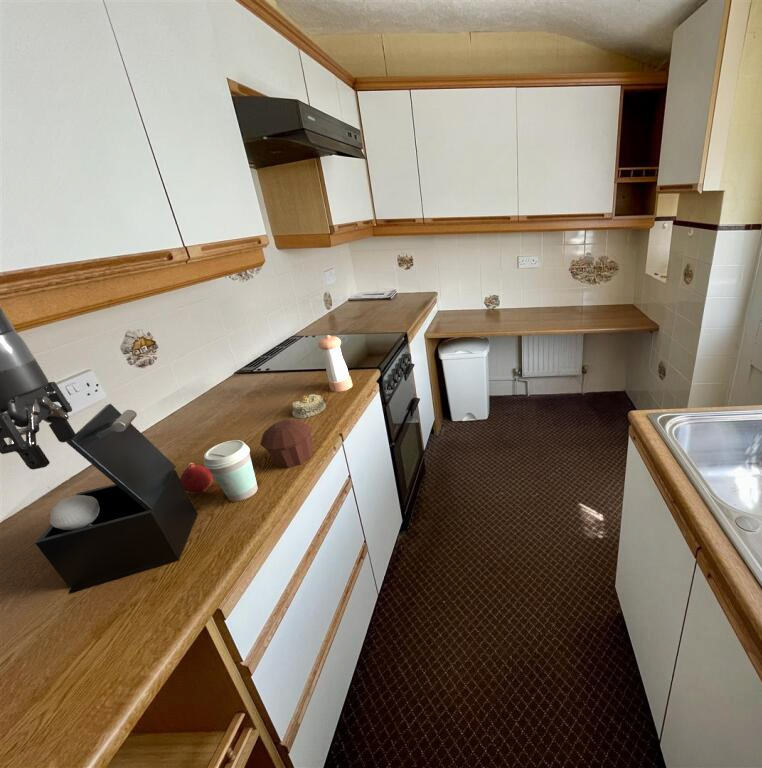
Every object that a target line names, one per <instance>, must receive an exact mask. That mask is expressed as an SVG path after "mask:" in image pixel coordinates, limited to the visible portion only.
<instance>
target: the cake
mask: <svg viewBox="0 0 762 768" xmlns="http://www.w3.org/2000/svg"><path fill="white" fill-rule="evenodd" d="M302 398H303V399H302V400H297V401H293V402H292V404H291V407H292V410H293V411H292V416H293V417H294V418H299V419H305V418H310V417H314V416H318V415H319V414H321V413H322V412H323V411H325V410H326V408H327V403H326V402H325V401H324V398H323V396H321V395H319V394H312V393H311V394H309V395H303V397H302Z"/></svg>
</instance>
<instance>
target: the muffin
mask: <svg viewBox="0 0 762 768" xmlns="http://www.w3.org/2000/svg"><path fill="white" fill-rule="evenodd" d="M261 436H262V437H261V440H260V443H259V445H260V446H261V447H262V448H263V449H265V450H266V451H267V453H268V454H269V456H270V457H271V459H272V460H273V462H274V463H275V464H276V465H277V467H278V468H286V469H290V468H293V467H296V466H300V465H303V463H305V462H306V461H308V460H311V457H312V455H313V453H314V449H313V440H312V427H311V426H309V425H308V424H306V423H305V422H303V421H301V420H298V419H297V420H295V419H284V420H280V421H277V422H276V423H274V424H272V425H270V426H269V427H268V428H267V429H266V430H265V431H263V433H262V435H261Z"/></svg>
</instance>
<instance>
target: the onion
mask: <svg viewBox="0 0 762 768" xmlns="http://www.w3.org/2000/svg"><path fill="white" fill-rule="evenodd" d="M180 480H181V482H182V484H183V486H184V488H185V490H186V492H187V493H191V494H202V493H205V492H206V491H207V490H208V489H209V487H210V486H211V485H212V483H213V481H214V476H213V475H212V473H211V472H210V470H209V469H208V468H206V467H205V466H203V465H199V464H195V463H194V462H190V463H188V465H187V466H186V468H185V469H184V470H183V471H182V474H181V475H180Z"/></svg>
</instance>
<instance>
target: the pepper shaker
mask: <svg viewBox="0 0 762 768" xmlns="http://www.w3.org/2000/svg"><path fill="white" fill-rule="evenodd" d="M341 344H342V340H341V339H340V338H339V337H338V336H334V335H330V334H327V335H325V337H323V338H321V339H319V341H318V348H319V349H321V350H322V353H323V357H324V360H325V361H324V362H325V370H326V375H327V378H328V379H327V380H328V385H329V389H330V391H331V392H334V393H339V392H340V393H341V392H345V391H347V390H350V389H351V388H353V381H352V378H351V375H350V373H349V370H348V369H349V368H348V367H347V364H346V362H345V359H344V357H343V354H342V353H343V352H342V349H341Z"/></svg>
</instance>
